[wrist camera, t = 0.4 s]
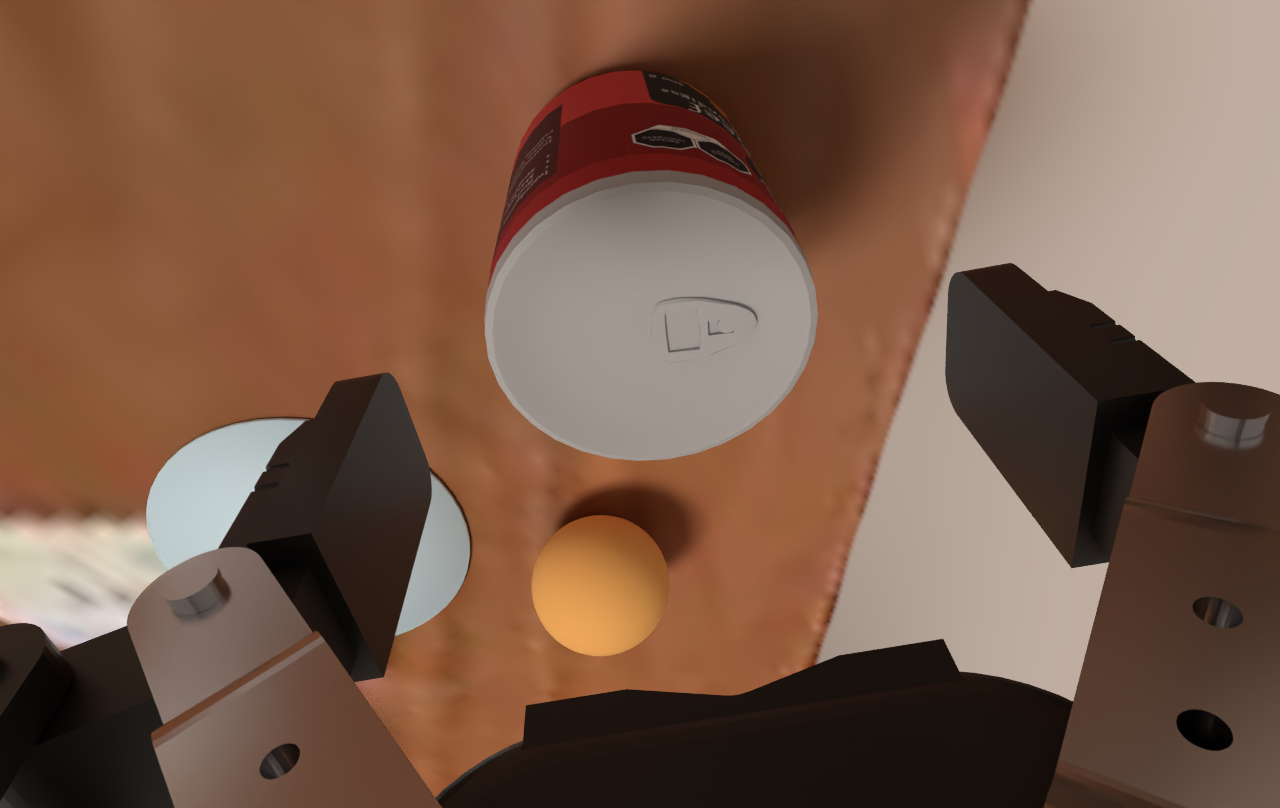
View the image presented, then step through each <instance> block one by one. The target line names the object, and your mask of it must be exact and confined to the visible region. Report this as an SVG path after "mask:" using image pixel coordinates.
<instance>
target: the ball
mask: <svg viewBox="0 0 1280 808" xmlns="http://www.w3.org/2000/svg"><path fill="white" fill-rule="evenodd" d="M668 594H669V575H668V570H667V565H666V562H665V560H664V557H663V555H662V552H661V551H660V549H659V547H658V546H657V544H656V543H655V541H654V540H653V539H652V538H651V537H650V536H649V535H648V534H647V533H646V532H645V531H644V530H643V529H642V528H640V527H638V526H637V525H635V524H634V523H632V522H630V521H628V520H625V519H622V518H619V517H614V516H608V515H594V516H588V517H584V518H580V519H577V520H575V521H572V522H570V523H569V524H567V525H565V526H564V527H562V528H561V529H559V530H558V531H557V532H556V533H555V534H554V535H553V536H552V537H551V538H550V539H549V540H548V541H547V543H546V544H545V545H544V547H543V548H542V550H541V552H540V554H539V556H538V558H537V561H536V563H535V566H534V571H533V576H532V596H533V602H534V606H535V609H536V612H537V614H538V617H539V619H540V621H541V622H542V624H543V625H544V627H545V629H546V630H547V631H548V632H549V633H550V634H551V635H552V637H553V638H555V639H556V640H557V641H558V642H560V643H561V644H562V645H564V646H565V647H567V648H569V649H571V650H573V651H576V652H579V653H582V654H586V655H591V656H608V655H614V654H618V653H621V652H624V651H626V650H628V649H631V648H633V647H634V646H636V645H638V644H639V643H640V642H642V641H643V640H644V639H645V638H646V637H647V636H648V635H650V633H651V632H652V631H653V630H654V628H655V627H656V626H657V624H658V623H659V621H660V619H661V617H662V615H663V613H664V610H665V608H666V604H667V601H668Z"/></svg>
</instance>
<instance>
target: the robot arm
mask: <svg viewBox="0 0 1280 808" xmlns="http://www.w3.org/2000/svg"><path fill="white" fill-rule="evenodd" d="M945 369H946V370H945V373H946V374H945V375H946V384H947V390H948V394H949V397H950V401H951V403H952V406H953V408H954V410H955V412H956V413H957V415H958V416H959V417H960V419H961V420H962V422H963V423H964V424H965V426H966V427H967V428H968V430H969V431H970V432H971V434H972V435H973V436H974V438H975V439H976V440H977V442H978V443H979V444H980V446H981V447H982V448H983V450H984V451H985V452H986V454H987V455H988V456H989V458H990V459H991V461H992V462H993V463H994V465H995V466H996V467H997V469H998V470H999V471H1000V473H1001V474H1002V475H1003V477H1004V478H1005V479H1006V481H1007V482H1008V483H1009V485H1010V486H1011V487H1012V489H1013V490H1014V491H1015V493H1016V494H1017V495H1018V497H1019V498H1020V499H1021V501H1022V502H1023V503H1024V505H1025V506H1026V508H1027V509H1028V510H1029V512H1030V513H1031V514H1032V516H1033V517H1034V518H1035V519H1036V521H1037V522H1038V524H1039V525H1040V526H1041V528H1042V529H1043V530H1044V532H1045V533H1046V534H1047V536H1048V537H1049V538H1050V540H1051V541H1052V542H1053V544H1054V545H1055V546H1056V548H1057V549H1058V550H1059V552H1060V553H1061V554H1062V556H1063V557H1064V559H1065V560H1066V561H1067V562H1068V564H1069V565H1070V567H1071V568H1075V567H1082V566H1088V565H1094V564H1100V563H1106V562H1109V565H1108V569H1107V573H1106V577H1105V581H1104V585H1103V588H1102V593H1101V597H1100V600H1099V604H1098V608H1097V612H1096V616H1095V620H1094V623H1093V627H1092V631H1091V635H1090V639H1089V643H1088V647H1087V651H1086V655H1085V659H1084V662H1083V666H1082V670H1081V674H1080V678H1079V682H1078V686H1077V690H1076V693H1075V697H1074V701H1070V700H1068V699H1066V698H1064V697H1062V696H1060V695H1057V694H1055V693H1052V692H1049V691H1046V690H1043V689H1040V688H1038V687H1035V686H1032V685H1029V684H1025V683H1021V682H1017V681H1014V680H1010V679H1006V678H1002V677H995V676H990V675H983V674H977V673H969V672H959V670H958V668H957V666H956V664H955V662H954V660H953V658H952V656H951V654H950V652H949V650H948V648H947V646H946V644H945V642H944V640H943V639H939V640H933V641H927V642H921V643H915V644H908V645H902V646H896V647H890V648H883V649H877V650H871V651H864V652H858V653H852V654H845V655H839V656H837V657H834V658H832V659H829V660H827V661H824V662H822V663H819V664H817V665H814V666H812V667H809V668H807V669H804V670H802V671H799V672H797V673H794V674H792V675H789V676H787V677H784V678H782V679H779V680H777V681H774V682H772V683H769V684H767V685H764V686H762V687H759V688H757V689H754V690H752V691H749V692H746V693H743V694H740V695H733V696H722V695H707V694H691V693H676V692H660V691H644V690H629V689H626V690H620V691H614V692H607V693H601V694H595V695H589V696H582V697H576V698H570V699H563V700H557V701H551V702H545V703H538V704H532V705H526V711H525V724H524V737H523V741H520V742H518V743H516V744H513V745H511V746H509V747H507V748H505V749H503V750H501V751H499V752H498V753H496V754H494V755H492V756H490V757H488V758H486V759H485V760H483V761H482V762H480V763H479V764H477V765H476V766H474V767H473V768H471V769H470V770H468V771H467V772H465V773H464V774H463V775H461V776H460V777H459V778H458V779H456V780H455V781H454V782H453V783H451V784H450V785H449V786H448V787H446V788H445V789H444V790H443V791H442V792H441V793H440V794H439V795H438V796H437V797H436V798H435V797H434V795H433V794H432V793H431V791H430V790H429V788H428V787H427V785H426V784H425V783H424V781H423V780H422V778H421V777H420V775H419V774H418V773H417V771H416V770H415V768H414V767H413V765H412V764H411V763H410V761H409V760H408V758H407V757H406V755H405V754H404V753H403V751H402V750H401V748H400V747H399V746H398V744H397V743H396V741H395V740H394V738H393V737H392V736H391V734H390V733H389V731H388V730H387V728H386V727H385V726H384V724H383V723H382V721H381V720H380V718H379V717H378V716H377V714H376V713H375V711H374V710H373V708H372V707H371V706H370V704H369V703H368V701H367V700H366V698H365V697H364V696H363V694H362V693H361V691H360V690H359V688H358V687H357V686H356V684H355V683H354V682H357V681H363V680H369V679H375V678H382V677H384V674H385V671H386V667H387V663H388V659H389V656H390V652H391V648H392V645H393V641H394V637H395V633H396V630H397V626H398V622H399V618H400V615H401V611H402V607H403V604H404V600H405V596H406V592H407V589H408V585H409V581H410V578H411V574H412V570H413V566H414V563H415V559H416V555H417V552H418V548H419V544H420V540H421V537H422V533H423V529H424V525H425V522H426V518H427V514H428V511H429V507H430V503H431V497H432V483H431V475H430V469H429V465H428V462H427V459H426V456H425V453H424V451H423V448H422V445H421V443H420V440H419V438H418V435H417V432H416V430H415V427H414V424H413V422H412V419H411V417H410V414H409V411H408V409H407V406H406V403H405V401H404V398H403V395H402V393H401V390H400V388H399V385H398V384H397V382H396V380H395V379H394V377H393V376H392V375H391V374H389V373H381V374H376V375H370V376H364V377H359V378H353V379H348V380H342V381H337V382H335V383H334V384H333V386H332V387H331V389H330V391H329V393H328V395H327V396H326V398H325V400H324V402H323V404H322V405H321V407H320V409H319V411H318V413H317V415H316V416H315V418H314V419H312V420H306V421H305V422H303V423H302V424H301V425H300V426H299V427H298V428H297V429H295V430H294V431H293V432H292V433H291V434H290V435H289V436H287V437H286V438H285V439H284V440H283V441H282V442H281V443H280V444H279V445H278V447H277V449H276V450H275V452H274V454H273V455H272V457H271V459H270V460H269V462H268V464H267V466H266V471H265V472H262V474H261V476H260V477H259V479H258V481H257V483H256V484H255V486H254V488H255V491H253V492H251V493H250V495H249V496H248V498H247V500H246V501H245V503H244V505H243V506H242V508H241V510H240V512H239V513H238V515H237V517H236V518H235V520H234V522H233V523H232V525H231V527H230V529H229V530H228V532H227V534H226V535H225V537H224V539H223V541H222V542H221V544H220V546H219V547H218V549H216V550H212V551H208V552H205V553H202V554H200V555H197V556H194V557H192V558H190V559H188V560H186V561H184V562H182V563H180V564H178V565H176V566H175V567H173V568H171V569H170V570H168V571H167V572H165V573H164V574H163V575H161V576H160V577H159V578H157V579H156V580H155V581H154V582H152V583H151V584H150V585H149V586H148V587H147V588H146V589H145V590H144V591H143V592H142V593H141V595H140V596H139V597H138V598H137V599H136V601H135V603H134V604H133V606H132V607H131V610H130V612H129V615H128V619H127V626H125V627H123V628H120V629H118V630H115V631H112V632H110V633H107V634H104V635H102V636H99V637H97V638H94V639H91V640H89V641H86V642H84V643H81V644H78V645H76V646H73V647H70V648H68V649H65V650H63V651H59V650H58V649H57V648H56V646H55V645H54V644H53V643H52V641H51V640H50V639H49V638H48V636H47V635H46V634H45V633H44V631H43V630H42V629H41V628H40V627H38V626H36V625H33V624H28V623H17V624H10V625H5V626H1V627H0V808H1280V395H1279V394H1276V393H1273V392H1270V391H1267V390H1264V389H1260V388H1256V387H1252V386H1247V385H1241V384H1235V383H1225V382H1200V383H1195V382H1194V381H1193V380H1192V379H1190V378H1189V377H1188V376H1186V375H1185V374H1184V373H1182V372H1181V371H1180V370H1179V369H1177V368H1176V367H1175V366H1173V365H1172V364H1171V363H1169V362H1168V361H1167V360H1166V359H1164V358H1163V357H1161V356H1160V355H1159V354H1158V353H1156V352H1155V351H1154V350H1152V349H1151V348H1150V347H1148V346H1147V345H1146V344H1145V343H1143V342H1142V341H1140V340H1138V341H1136V340H1135V336H1134V335H1133V334H1131V333H1130V332H1129V331H1127V330H1126V329H1125V328H1124V327H1122V326H1121V325H1116V324H1115V321H1114V320H1113V319H1112V318H1110V317H1109V316H1108V315H1106V314H1105V313H1104V312H1103V311H1101V310H1100V309H1099V308H1097V307H1096V306H1095V305H1093V304H1092V303H1090V302H1087V301H1084V300H1082V299H1079V298H1076V297H1073V296H1071V295H1068V294H1065V293H1062V292H1060V291H1057V290H1054V291H1047V290H1046V289H1045V288H1043V287H1042V286H1041V285H1040V284H1038V283H1037V282H1036V281H1035V280H1033V279H1032V278H1031V277H1030V276H1028V275H1027V274H1026V273H1025V272H1023V271H1022V270H1021V269H1020V268H1018V267H1017V266H1016V265H1014V264H1012V263H1008V264H1002V265H996V266H991V267H985V268H979V269H974V270H968V271H962V272H957V273H955V274H954V275H953V276H952V278H951V281H950V284H949V291H948V314H947V341H946V368H945Z"/></svg>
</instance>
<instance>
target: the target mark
mask: <svg viewBox="0 0 1280 808" xmlns="http://www.w3.org/2000/svg"><path fill="white" fill-rule="evenodd" d="M306 420H310V419H302V418H266V419H255V420H249V421H244V422H238V423H234V424H230V425H227V426H224V427H220V428H217V429H215V430H212V431H210V432H208V433H206V434H204V435H201V436H199V437H197V438H196V439H194V440H193V441H191V442H189V443H188V444H186V445H185V446H183V447H182V448H181V449H180V450H179V451H177V452H176V453H175V454H174V455H173V456H172V457H171V458H170V459H169V460H168V461H167V463H166V464H165V465H164V467H163V468H162V469H161V471H160V472H159V473H158V475H157V477H156V479H155V481H154V483H153V485H152V487H151V490H150V494H149V498H148V502H147V516H146V519H147V526H148V532H149V536H150V539H151V542H152V545H153V547H154V550H155V551H156V553H157V555H158V557H159V559H160V561H161V563H162V564H163V565H164V567H165V568H166V569H167V571H168V570H170V569H171V568H173V567H175V566H176V565H178V564H180V563H182V562H184V561H186V560H188V559H190V558H192V557H194V556H197V555H200V554H202V553H205V552H208V551H212V550H216V549H218V547H219V546H220V544H221V542H222V541H223V539H224V537H225V535H226V534H227V532H228V530H229V529H230V527H231V525H232V523H233V522H234V520H235V518H236V517H237V515H238V513H239V512H240V510H241V508H242V506H243V505H244V503H245V501H246V500H247V498H248V496H249V495H250V493H251V492H253V491H255V488H254V486H255V484H256V483H257V481H258V479H259V477H260V476H261V474H262V472H265V471H266V466H267V464H268V462H269V460H270V459H271V457H272V455H273V454H274V452H275V450H276V449H277V447H278V445H279V444H280V443H281V442H282V441H283V440H284V439H285V438H286V437H287V436H289V435H290V434H291V433H292V432H293V431H294V430H295V429H297V428H298V427H299V426H300V425H301V424H302V423H303V422H305V421H306ZM430 475H431V483H432V497H431V503H430V507H429V511H428V514H427V518H426V522H425V525H424V529H423V533H422V537H421V540H420V544H419V548H418V552H417V555H416V559H415V563H414V566H413V570H412V574H411V578H410V581H409V585H408V589H407V592H406V596H405V600H404V604H403V607H402V611H401V615H400V618H399V622H398V626H397V630H396V633H395V636H396V635H399V634H402V633H404V632H407V631H410V630H412V629H414V628H416V627H418V626H420V625H422V624H424V623H425V622H427V621H428V620H430V619H431V618H432V617H434V616H435V615H437V614H438V613H439V612H440V611H441V610H442V609H444V608H445V607H446V606H447V605H448V604H449V602H450V601H451V600H452V599H453V598H454V596H455V595H456V594H457V592H458V590H459V589H460V587H461V585H462V583H463V581H464V578H465V575H466V573H467V570H468V564H469V557H470V537H469V533H468V528H467V524H466V521H465V519H464V516H463V514H462V511H461V509H460V507H459V506H458V504H457V502H456V501H455V499H454V497H453V496H452V494H451V493H450V492H449V491H448V489H447V488H446V487H445V486H444V484H443V483H442V482H441V481H440V480H439V479H438V478H437V477H436V476H435V475H434V474H433V473H432V472H431V471H430Z"/></svg>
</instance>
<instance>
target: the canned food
mask: <svg viewBox="0 0 1280 808" xmlns="http://www.w3.org/2000/svg"><path fill="white" fill-rule="evenodd" d="M817 318H818V311H817V302H816V292H815V286H814V283H813V280H812V275H811V272H810V269H809V266H808V264H807V261H806V258H805V255H804V252H803V250H802V248H801V246H800V244H799V242H798V241H797V239H796V237H795V234H794V232H793V230H792V228H791V226H790V224H789V223H788V221H787V219H786V217H785V216H784V214H783V212H782V210H781V209H780V207H779V205H778V203H777V202H776V200H775V198H774V196H773V195H772V193H771V191H770V189H769V188H768V186H767V184H766V182H765V181H764V179H763V177H762V175H761V174H760V172H759V170H758V168H757V167H756V165H755V163H754V161H753V160H752V158H751V156H750V154H749V153H748V151H747V149H746V147H745V146H744V144H743V142H742V140H741V139H740V137H739V135H738V133H737V131H736V130H735V128H734V127H733V125H732V124H731V122H730V121H729V119H728V118H727V116H726V114H725V113H724V112H723V111H722V110H721V109H720V108H719V107H718V106H717V105H716V104H715V103H714V102H713V101H712V100H711V99H710V98H709V97H708V96H707V95H705V94H704V93H702V92H701V91H699V90H698V89H696V88H695V87H693V86H692V85H690V84H688V83H686V82H684V81H681V80H678V79H676V78H673V77H671V76H668V75H665V74H659V73H653V72H647V71H641V70H639V71H615V72H611V73H607V74H603V75H599V76H594V77H591V78H589V79H587V80H584V81H582V82H580V83H578V84H576V85H574V86H571V87H569V88H568V89H566V90H565V91H564V92H562V93H561V94H560V95H558V96H557V97H556V98H554V99H553V100H551V101H550V102H549V103H548V104H547V105H546V106H545V107H544V109H543V110H542V111H541V112H540V113H539V114H538V115H537V116H536V117H535V118H534V120H533V121H532V123H531V125H530V126H529V128H528V130H527V132H526V133H525V135H524V137H523V138H522V140H521V143H520V146H519V150H518V153H517V156H516V159H515V162H514V166H513V171H512V175H511V180H510V184H509V189H508V193H507V198H506V202H505V207H504V211H503V216H502V220H501V225H500V229H499V234H498V238H497V243H496V247H495V252H494V256H493V261H492V265H491V270H490V278H489V284H488V289H487V296H486V306H485V317H484V322H485V337H486V344H487V351H488V358H489V361H490V364H491V366H492V369H493V371H494V374H495V376H496V379H497V381H498V384H499V385H500V387H501V388H502V390H503V391H504V393H505V394H506V396H507V397H508V399H509V400H510V401H511V403H512V404H513V406H514V407H515V408H516V409H517V410H518V411H519V412H520V413H521V414H522V415H523V416H524V417H525V418H527V419H528V420H529V421H530V422H531V423H532V424H533V425H534V426H536V427H537V428H539V429H540V430H542V431H543V432H545V433H546V434H548V435H549V436H551V437H552V438H554V439H555V440H557V441H560V442H562V443H564V444H567V445H569V446H571V447H574V448H576V449H578V450H581V451H584V452H588V453H592V454H596V455H600V456H604V457H608V458H615V459H626V460H636V461H642V460H660V459H670V458H675V457H680V456H685V455H690V454H695V453H698V452H701V451H704V450H707V449H709V448H712V447H715V446H718V445H720V444H723V443H725V442H727V441H729V440H731V439H732V438H734V437H736V436H738V435H740V434H742V433H743V432H745V431H747V430H749V429H750V428H752V427H753V426H754V425H755V424H757V423H758V422H759V421H761V420H762V419H763V418H764V417H766V416H767V415H768V414H770V413H771V412H772V411H773V410H774V409H775V408H776V407H777V405H778V404H779V403H780V402H781V401H782V400H783V399H784V398H785V397H786V396H787V394H788V393H789V392H790V391H791V390H792V388H793V386H794V385H795V383H796V381H797V380H798V378H799V377H800V375H801V373H802V372H803V370H804V369H805V366H806V364H807V361H808V358H809V355H810V353H811V350H812V347H813V344H814V341H815V333H816V326H817Z"/></svg>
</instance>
